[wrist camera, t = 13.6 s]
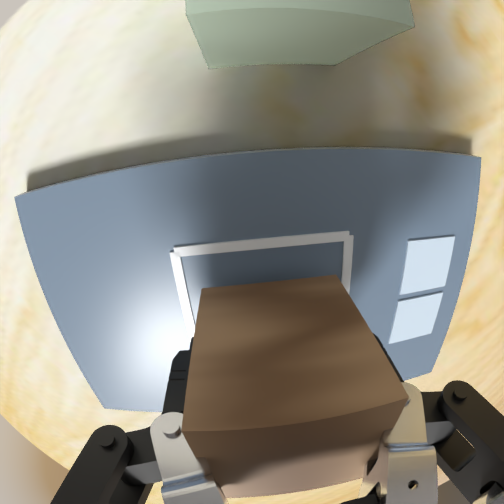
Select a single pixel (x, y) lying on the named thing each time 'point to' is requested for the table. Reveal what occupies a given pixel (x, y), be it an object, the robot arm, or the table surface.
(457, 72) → the table surface
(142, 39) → the table surface
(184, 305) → the board
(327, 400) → the walnut block
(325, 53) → the sage block
